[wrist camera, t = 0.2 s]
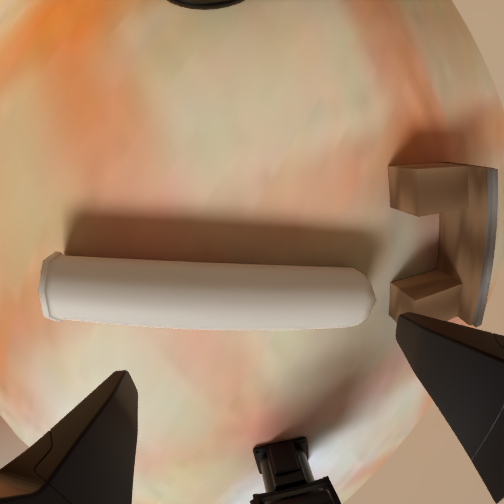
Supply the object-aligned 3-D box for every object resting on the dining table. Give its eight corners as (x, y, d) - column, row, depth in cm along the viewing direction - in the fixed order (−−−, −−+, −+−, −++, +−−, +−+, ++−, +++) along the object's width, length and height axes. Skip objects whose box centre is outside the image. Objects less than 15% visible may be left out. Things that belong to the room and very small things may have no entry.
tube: (388, 265, 21) (38, 250, 17) (383, 335, 21) (39, 327, 17) (355, 264, 26) (68, 252, 22) (351, 323, 26) (68, 315, 22)
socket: (443, 295, 28) (483, 323, 21) (388, 314, 27) (426, 350, 21) (448, 162, 23) (499, 169, 17) (387, 166, 23) (439, 172, 16)
